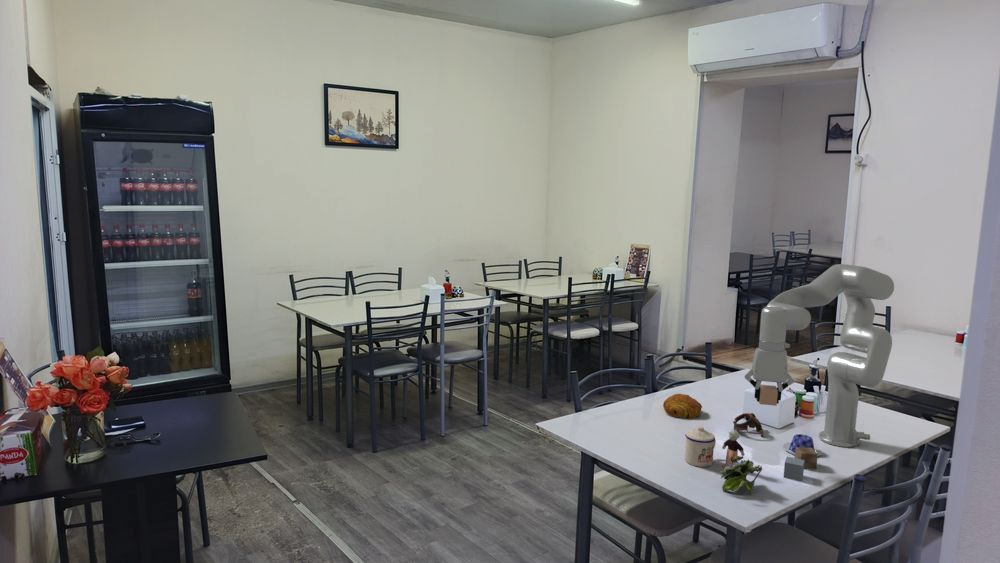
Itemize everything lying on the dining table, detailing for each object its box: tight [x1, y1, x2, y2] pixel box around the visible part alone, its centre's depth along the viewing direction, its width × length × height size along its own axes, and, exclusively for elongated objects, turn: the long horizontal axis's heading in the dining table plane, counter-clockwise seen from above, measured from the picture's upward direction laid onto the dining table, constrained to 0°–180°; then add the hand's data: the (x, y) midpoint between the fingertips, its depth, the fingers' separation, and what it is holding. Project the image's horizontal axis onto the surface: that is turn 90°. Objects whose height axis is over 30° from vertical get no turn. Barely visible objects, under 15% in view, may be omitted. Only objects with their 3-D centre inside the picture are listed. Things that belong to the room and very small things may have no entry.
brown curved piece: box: [732, 412, 764, 438], centre depth 232 cm, size 12×10×8 cm
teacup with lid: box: [684, 425, 717, 468], centre depth 206 cm, size 12×9×12 cm
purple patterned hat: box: [782, 433, 823, 457], centre depth 216 cm, size 12×12×5 cm
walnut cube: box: [794, 447, 819, 470], centre depth 204 cm, size 5×5×5 cm
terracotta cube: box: [758, 383, 778, 407], centre depth 204 cm, size 5×5×5 cm
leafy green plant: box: [719, 455, 763, 496], centre depth 187 cm, size 11×11×12 cm
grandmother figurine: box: [721, 428, 745, 468], centre depth 201 cm, size 8×4×13 cm, turn 47°
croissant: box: [662, 393, 703, 419], centre depth 250 cm, size 14×16×8 cm
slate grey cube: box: [783, 456, 805, 482], centre depth 196 cm, size 5×5×5 cm
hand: (767, 400), depth 204 cm, fingers closed on terracotta cube, 5 cm apart
